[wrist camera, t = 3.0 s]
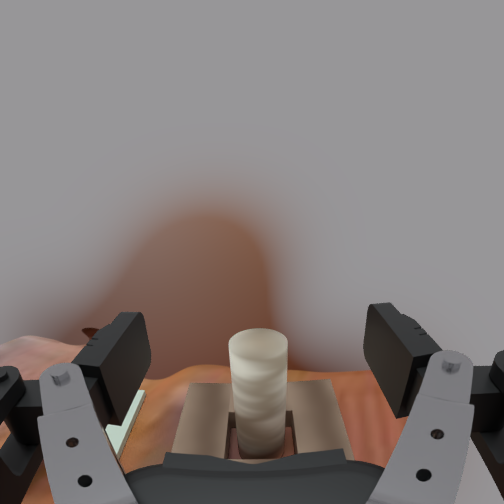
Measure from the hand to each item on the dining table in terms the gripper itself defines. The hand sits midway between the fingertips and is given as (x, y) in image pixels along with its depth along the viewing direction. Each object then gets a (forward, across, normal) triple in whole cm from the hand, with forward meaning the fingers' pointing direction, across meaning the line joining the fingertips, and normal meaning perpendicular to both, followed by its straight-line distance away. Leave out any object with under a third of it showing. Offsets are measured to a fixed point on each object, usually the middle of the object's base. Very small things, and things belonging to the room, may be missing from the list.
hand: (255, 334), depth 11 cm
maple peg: (+11, 0, +20) cm, 23 cm away
